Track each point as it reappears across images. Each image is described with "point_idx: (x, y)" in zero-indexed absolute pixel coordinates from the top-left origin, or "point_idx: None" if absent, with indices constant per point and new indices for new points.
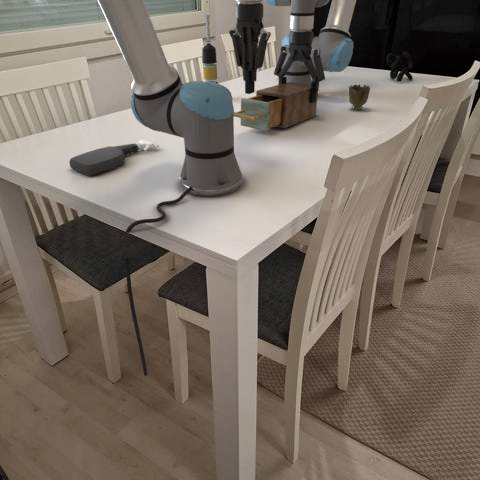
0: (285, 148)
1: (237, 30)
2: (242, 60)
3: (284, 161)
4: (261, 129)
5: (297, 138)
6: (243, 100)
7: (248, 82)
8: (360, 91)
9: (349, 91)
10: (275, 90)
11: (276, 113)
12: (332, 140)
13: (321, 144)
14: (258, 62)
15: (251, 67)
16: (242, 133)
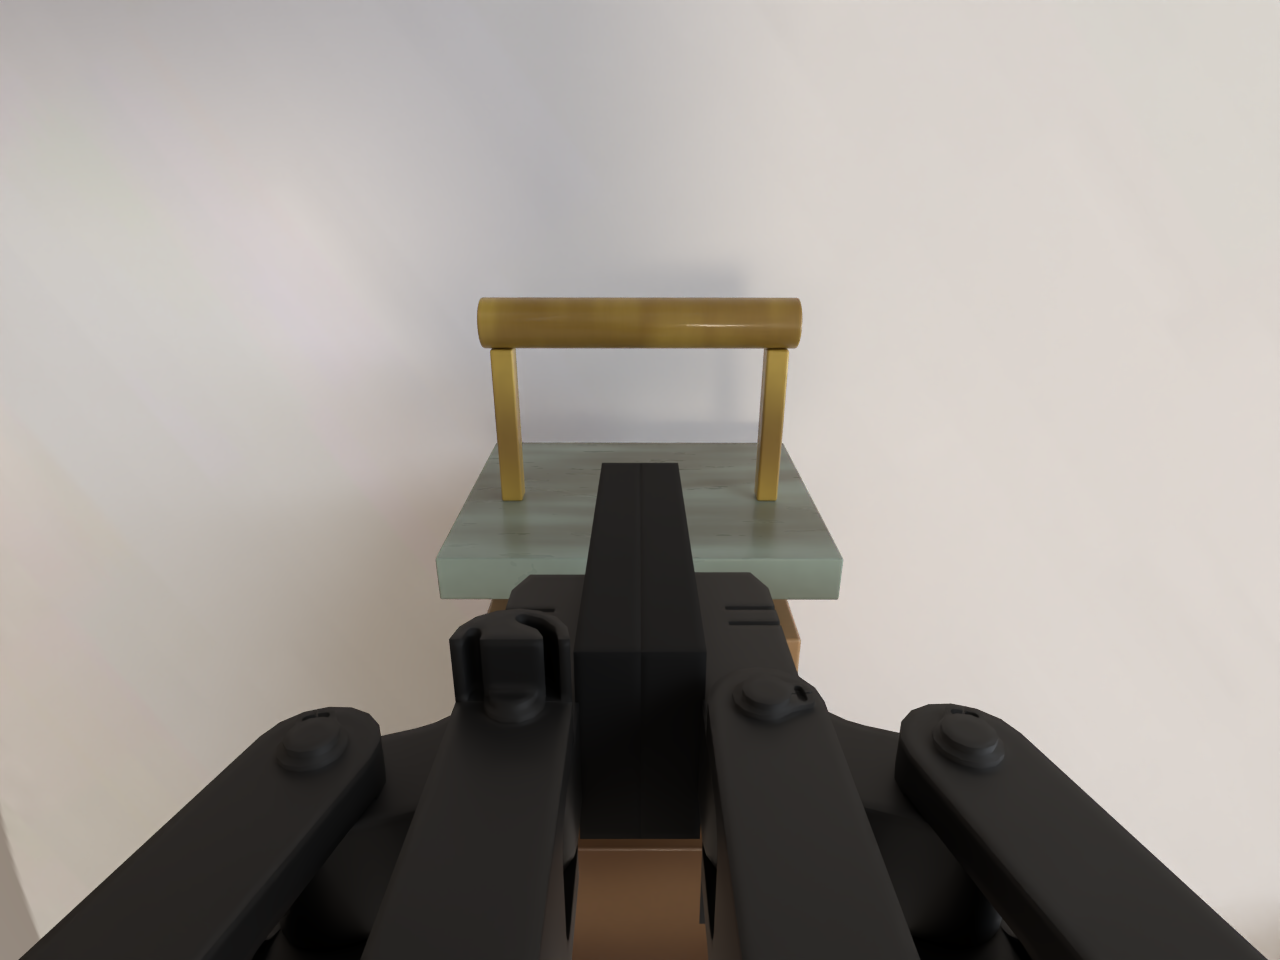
0: (249, 328)
1: None
2: (851, 847)
3: (42, 63)
4: (550, 443)
5: (333, 559)
6: (799, 549)
7: (605, 531)
8: None
9: None
10: (675, 950)
11: None
12: (126, 653)
13: (121, 549)
14: (150, 852)
15: (492, 721)
16: (748, 418)
